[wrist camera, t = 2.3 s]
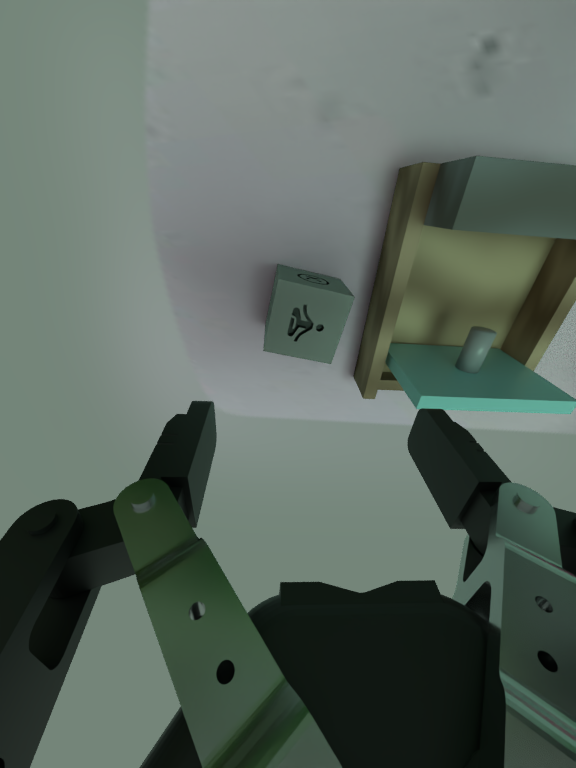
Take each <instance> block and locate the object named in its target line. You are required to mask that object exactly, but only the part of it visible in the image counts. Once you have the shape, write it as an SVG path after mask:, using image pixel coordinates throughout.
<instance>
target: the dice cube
mask: <svg viewBox="0 0 576 768" xmlns="http://www.w3.org/2000/svg"><path fill="white" fill-rule="evenodd" d="M354 298H355V297H354V295H353V294H352V293H351V292H350V291H349V289H348V288H347V287H346V286H345V284H344V283H343V282H342V281H341V280H340V279H337V278H333V277H329V276H325V275H321V274H317V273H313V272H309V271H305V270H300V269H296V268H292V267H288V266H284V265H280V264H278V266H277V271H276V276H275V281H274V285H273V290H272V295H271V300H270V305H269V310H268V315H267V320H266V325H265V337H264V350H263V351H266V352H272V353H277V354H282V355H287V356H292V357H297V358H302V359H307V360H313V361H318V362H323V363H328V364H331V362H332V360H333V357H334V354H335V351H336V348H337V346H338V343H339V340H340V337H341V334H342V331H343V329H344V326H345V323H346V320H347V317H348V315H349V312H350V309H351V306H352V303H353V300H354Z"/></svg>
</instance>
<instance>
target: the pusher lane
mask: <svg viewBox="0 0 576 768" xmlns="http://www.w3.org/2000/svg"><path fill="white" fill-rule="evenodd" d="M575 301H576V166H575V165H565V164H554V163H544V162H534V161H524V160H514V159H504V158H493V157H483V156H474V157H469V158H465V159H460V160H456V161H451V162H447V163H442V164H438V163H427V162H422V163H418V164H414V165H410V166H407V167H403V168H400V169H399V174H398V179H397V183H396V188H395V192H394V197H393V201H392V206H391V210H390V215H389V219H388V224H387V228H386V233H385V237H384V242H383V246H382V251H381V255H380V260H379V264H378V269H377V273H376V278H375V282H374V287H373V291H372V296H371V300H370V305H369V309H368V314H367V319H366V323H365V328H364V332H363V337H362V341H361V346H360V350H359V355H358V359H357V364H356V368H355V373H354V379H355V381H356V383H357V385H358V388H359V390H360V392H361V394H362V397H363V399H375V397H376V393H377V390H402V391H404V390H403V388H402V387H401V385H400V384H399V382H398V381H397V379H396V378H395V376H394V375H393V373H392V372H391V370H390V369H389V368H388V366H387V365H386V363H385V361H386V357H387V354H388V350H389V347H390V343H398V344H417V345H437V346H457V347H463V346H464V343H465V341H466V339H467V336H468V334H469V331H470V329H471V327H473V326H479V327H485V328H488V329H491V330H494V331H495V332H497V335H496V337H495V339H494V341H493V343H492V345H491V347H490V348H497V349H500V350H502V351H503V352H505V353H506V354H508V355H509V356H511V357H512V358H514V359H515V360H517V361H518V362H520V363H521V364H523V365H524V366H526V367H527V368H529V369H531V370H532V371H534V369H535V368H536V366H537V364H538V363H539V361H540V359H541V358H542V356H543V354H544V353H545V351H546V349H547V348H548V346H549V344H550V343H551V341H552V339H553V338H554V336H555V334H556V333H557V331H558V329H559V328H560V326H561V324H562V323H563V321H564V319H565V318H566V316H567V314H568V312H569V311H570V309H571V307H572V306H573V304H574V302H575Z"/></svg>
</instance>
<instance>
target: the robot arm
mask: <svg viewBox="0 0 576 768" xmlns="http://www.w3.org/2000/svg"><path fill="white" fill-rule="evenodd" d="M214 411H215V410H214V403H213V402H212V401H192V403H191V405H190V407H189V410H188V412H187V414H177V415H175V416H174V417H173V418H172V419H171V420H170V421H168V422H167V424H166V426H165V428H164V430H163V432H162V435H161V436H160V438H159V440H158V442H157V445H156V446H155V448H154V450H153V452H152V454H151V456H150V458H149V460H148V462H147V465H146V466H145V469H144V471H143V473H142V475H141V477H140V479H139V480H138V481H137V482H134V483H132V484H131V485H129V486H127V487H126V488H125V489H124V490H122V491H121V493H120V494H119V495H118V497H117V498H116V499H114V500H112V501H109V502H106V503H102V504H98V505H94V506H90V507H86V508H82V509H79V510H78V509H77V507H76V505H75V504H74V503H72V502H71V501H69V500H64V499H58V500H51V501H47V502H44V503H42V504H39V505H37V506H35V507H33V508H31V509H30V510H28V511H27V512H25V513H24V514H23V515H21V516H20V517H19V518H18V519H17V520H16V521H15V522H14V523H13V524H12V526H11V527H10V528H9V530H8V531H7V533H6V534H5V535H4V536H3V538H2V539H1V540H0V768H30V765H31V763H32V760H33V758H34V755H35V753H36V750H37V748H38V745H39V743H40V740H41V737H42V735H43V733H44V730H45V728H46V725H47V722H48V720H49V717H50V715H51V712H52V710H53V707H54V705H55V702H56V700H57V697H58V695H59V692H60V690H61V687H62V685H63V682H64V679H65V677H66V674H67V672H68V669H69V667H70V664H71V662H72V659H73V657H74V654H75V652H76V649H77V647H78V644H79V642H80V639H81V636H82V634H83V631H84V629H85V626H86V624H87V621H88V619H89V616H90V614H91V611H92V608H93V606H94V604H95V601H96V599H97V596H98V593H99V591H100V588H101V586H102V585H105V584H108V583H111V582H114V581H117V580H120V579H123V578H126V577H129V576H131V575H134V574H136V577H137V582H138V585H139V588H140V591H141V594H142V597H143V600H144V602H145V605H146V608H147V611H148V614H149V617H150V619H151V622H152V625H153V628H154V631H155V634H156V637H157V639H158V642H159V645H160V648H161V650H162V654H163V657H164V659H165V662H166V665H167V668H168V671H169V673H170V676H171V679H172V682H173V685H174V688H175V690H176V694H177V696H178V699H179V702H180V705H181V707H180V709H179V710H178V712H177V713H176V714H175V716H174V718H173V719H172V721H171V722H170V723H169V725H168V726H167V728H166V729H165V731H164V732H163V734H162V735H161V737H160V738H159V740H158V741H157V743H156V744H155V746H154V747H153V749H152V750H151V752H150V753H149V754H148V756H147V757H146V759H145V760H144V762H143V763H142V765H141V767H140V768H576V513H573V512H569V511H566V510H562V509H558V508H554V507H552V506H551V504H550V503H549V502H548V501H547V500H546V499H545V498H544V497H543V496H541V495H540V494H539V493H537V492H536V491H534V490H532V489H531V488H528V487H526V486H524V485H521V484H518V483H512V482H511V481H510V480H509V479H508V478H507V477H506V475H505V474H504V473H503V472H502V471H501V469H500V468H499V467H498V466H497V465H496V463H495V462H494V461H493V460H492V459H491V458H490V457H489V455H488V454H487V453H486V452H484V450H483V448H482V447H481V446H480V445H479V443H476V440H475V439H474V438H473V436H472V435H471V434H470V433H469V432H468V431H467V430H466V429H464V428H463V427H462V426H460V425H459V424H457V423H456V422H453V421H452V420H451V418H450V417H449V416H448V415H447V414H446V412H445V411H444V410H443V409H430V408H422V409H420V410H419V411H418V413H417V416H416V418H415V421H414V424H413V426H412V429H411V432H410V434H409V437H408V450H409V453H410V455H411V457H412V459H413V460H414V462H415V464H416V466H417V468H418V470H419V472H420V473H421V475H422V477H423V479H424V481H425V483H426V484H427V486H428V488H429V490H430V492H431V494H432V495H433V497H434V499H435V501H436V503H437V505H438V507H439V508H440V510H441V512H442V514H443V516H444V518H445V520H446V522H447V523H448V525H449V527H450V528H451V529H466V531H467V533H468V535H467V536H466V538H465V540H464V546H463V551H462V557H461V563H460V569H459V575H458V581H457V586H456V590H455V593H454V595H453V597H452V599H451V598H449V597H446V596H444V595H441V594H440V592H439V590H438V587H437V585H436V583H435V581H434V580H432V581H396V582H394V583H390V584H388V585H385V586H382V587H379V588H376V589H373V590H371V591H368V592H365V593H358V592H354V591H350V590H347V589H343V588H339V587H336V586H332V585H329V584H325V583H322V582H281V583H280V592H279V595H277V596H274V597H271V598H269V599H267V600H265V601H263V602H261V603H260V604H258V605H257V606H255V607H254V608H253V609H251V610H250V611H249V612H248V613H247V612H246V610H245V609H244V607H243V605H242V603H241V602H240V600H239V598H238V596H237V595H236V593H235V591H234V590H233V588H232V586H231V584H230V583H229V581H228V579H227V577H226V576H225V574H224V572H223V571H222V569H221V567H220V565H219V564H218V562H217V560H216V558H215V557H214V555H213V553H212V552H211V550H210V548H209V547H208V545H207V543H206V542H205V541H204V540H203V539H202V538H200V539H199V538H198V537H197V536H196V534H195V532H194V530H193V529H192V528H196V527H197V522H198V518H199V514H200V510H201V506H202V501H203V498H204V493H205V489H206V485H207V481H208V477H209V473H210V468H211V464H212V460H213V456H214V452H215V447H216V423H215V412H214Z"/></svg>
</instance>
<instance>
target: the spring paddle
mask: <svg viewBox="0 0 576 768" xmlns="http://www.w3.org/2000/svg"><path fill="white" fill-rule="evenodd" d="M496 335H497V332H495V331H494V330H491V329H488V328H485V327H479V326H473V327H471V329H470V331H469V334H468V336H467V339H466V341H465V343H464V346H463V347H457V346H437V345H417V344H398V343H390V347H389V350H388V354H387V357H386V361H385V363H386V365H387V366H388V368H389V369H390V370H391V372H392V373H393V375H394V376H395V378H396V379H397V381H398V382H399V384H400V385H401V387H402V388H403V390H404V391H405V393H406V394H407V395H408V397H409V398H410V400H411V401H412V403H413V404H414V406H415V407H416V409H422V408H430V409H443V410H469V411H497V412H526V413H555V414H571V412H572V411H573V410H574V408H575V407H576V399H574V398H573V397H571V396H570V395H568V394H567V393H565V392H564V391H562V390H561V389H559V388H558V387H556V386H555V385H553V384H552V383H550V382H549V381H547V380H546V379H544V378H543V377H541V376H540V375H538V374H537V373H535V372H534V371H532V370H531V369H529V368H527V367H526V366H524V365H523V364H521V363H520V362H518V361H517V360H515V359H514V358H512V357H511V356H509V355H508V354H506V353H505V352H503V351H502V350H500V349H497V348H490V347H491V345H492V343H493V341H494V339H495V337H496Z"/></svg>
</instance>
